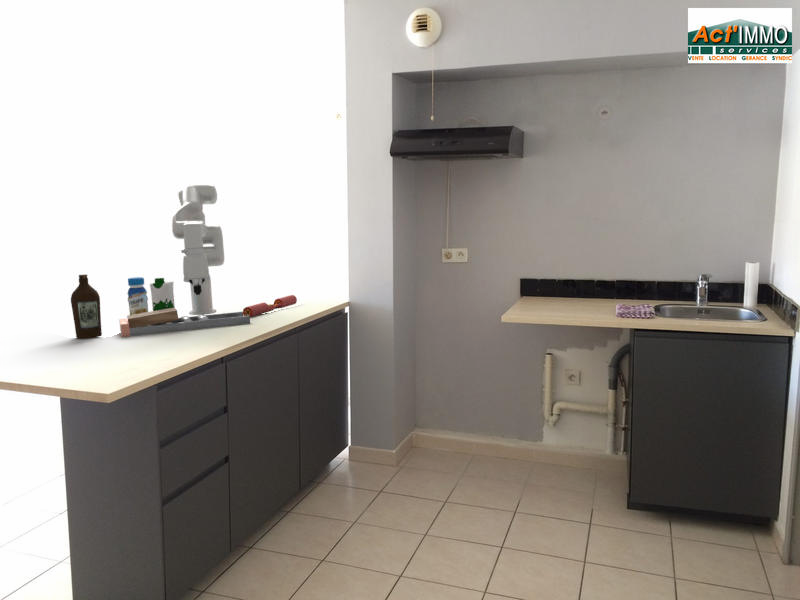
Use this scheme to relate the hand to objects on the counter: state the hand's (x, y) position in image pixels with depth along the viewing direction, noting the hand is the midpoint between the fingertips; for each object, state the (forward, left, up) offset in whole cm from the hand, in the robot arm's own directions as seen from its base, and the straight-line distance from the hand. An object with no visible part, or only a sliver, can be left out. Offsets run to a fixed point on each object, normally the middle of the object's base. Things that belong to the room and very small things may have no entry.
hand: (197, 294), depth 298 cm
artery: (-22, +36, -14) cm, 45 cm away
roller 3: (+4, +1, -13) cm, 14 cm away
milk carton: (-16, -13, -13) cm, 24 cm away
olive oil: (+2, -44, -13) cm, 46 cm away
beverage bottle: (-26, -23, -13) cm, 37 cm away
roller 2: (+4, -6, -13) cm, 15 cm away
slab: (+5, -19, -10) cm, 22 cm away
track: (+4, -6, -13) cm, 15 cm away
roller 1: (+4, -13, -13) cm, 19 cm away
